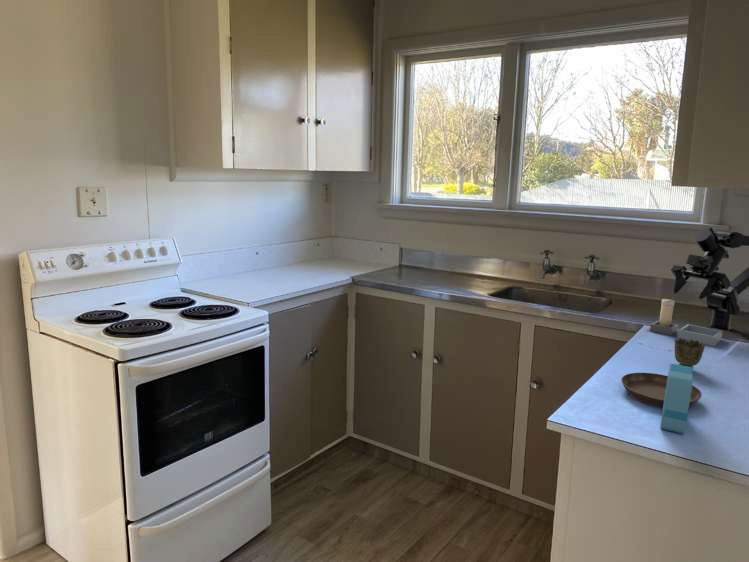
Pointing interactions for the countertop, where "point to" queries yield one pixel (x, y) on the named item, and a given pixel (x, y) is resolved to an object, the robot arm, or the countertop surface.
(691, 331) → the tray
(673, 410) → the data package
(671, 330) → the tray
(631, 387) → the plant saucer
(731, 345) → the countertop surface
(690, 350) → the cup
